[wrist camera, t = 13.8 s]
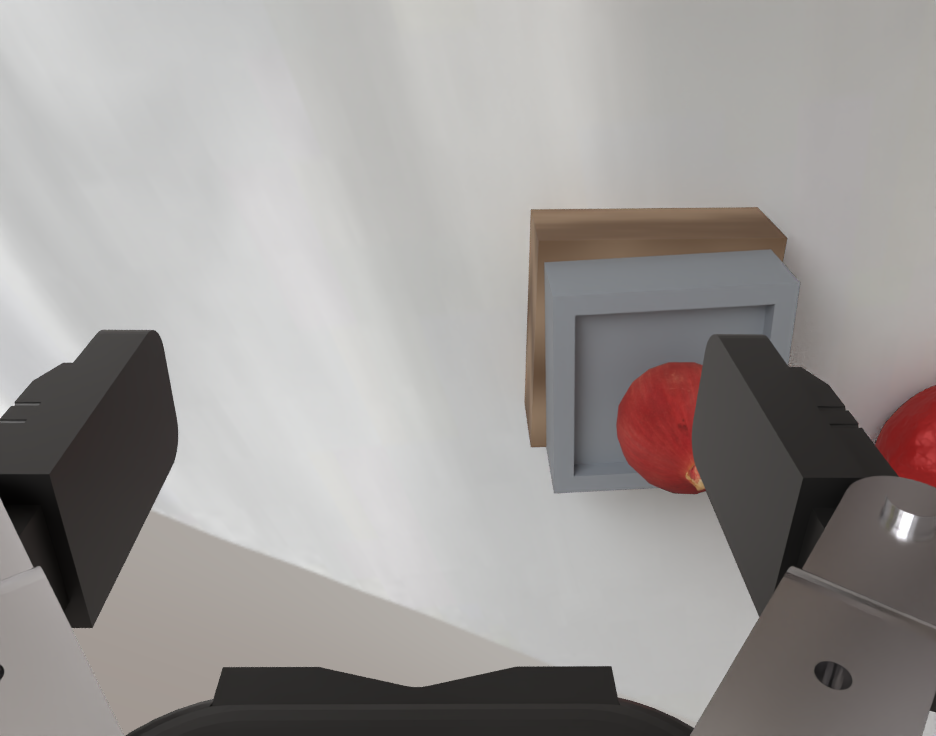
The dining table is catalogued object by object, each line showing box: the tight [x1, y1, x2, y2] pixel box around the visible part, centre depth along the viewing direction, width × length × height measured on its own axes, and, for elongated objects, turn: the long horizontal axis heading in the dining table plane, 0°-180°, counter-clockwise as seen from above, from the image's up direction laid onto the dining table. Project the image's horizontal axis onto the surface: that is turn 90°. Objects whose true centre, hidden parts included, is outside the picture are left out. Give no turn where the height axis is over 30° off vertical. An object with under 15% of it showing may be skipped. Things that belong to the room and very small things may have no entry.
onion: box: [616, 362, 706, 494], centre depth 38 cm, size 6×6×8 cm
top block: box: [544, 249, 800, 493], centre depth 42 cm, size 11×11×4 cm
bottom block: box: [525, 207, 787, 447], centre depth 46 cm, size 12×12×5 cm
